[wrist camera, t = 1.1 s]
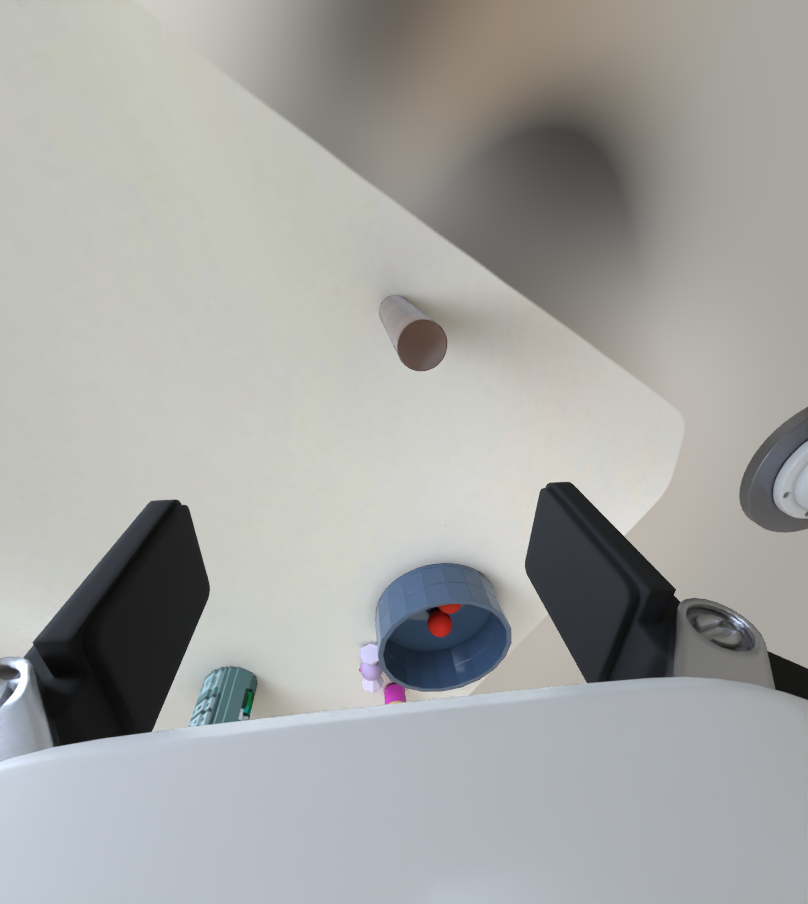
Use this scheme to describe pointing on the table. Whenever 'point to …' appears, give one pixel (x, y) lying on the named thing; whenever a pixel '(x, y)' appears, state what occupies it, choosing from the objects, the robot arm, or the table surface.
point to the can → (225, 697)
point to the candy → (378, 676)
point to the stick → (413, 334)
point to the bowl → (450, 657)
